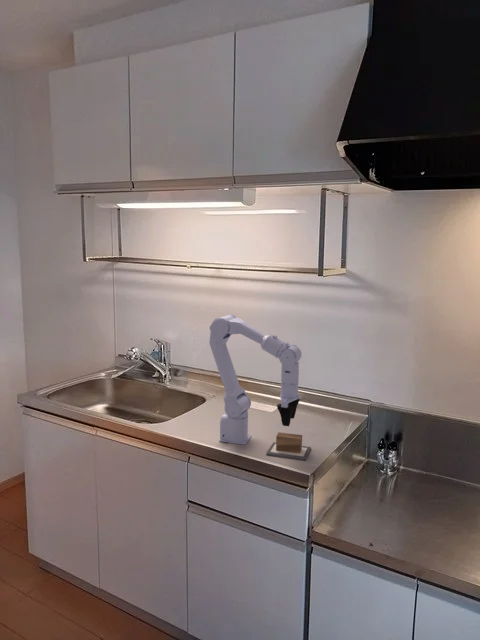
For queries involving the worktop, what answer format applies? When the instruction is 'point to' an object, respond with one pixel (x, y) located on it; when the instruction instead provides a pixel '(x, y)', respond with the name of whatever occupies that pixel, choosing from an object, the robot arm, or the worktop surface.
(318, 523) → the worktop surface
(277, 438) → the block
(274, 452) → the mat
